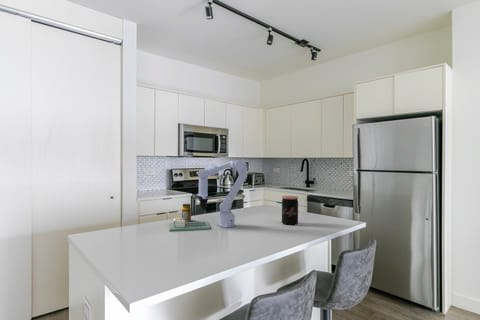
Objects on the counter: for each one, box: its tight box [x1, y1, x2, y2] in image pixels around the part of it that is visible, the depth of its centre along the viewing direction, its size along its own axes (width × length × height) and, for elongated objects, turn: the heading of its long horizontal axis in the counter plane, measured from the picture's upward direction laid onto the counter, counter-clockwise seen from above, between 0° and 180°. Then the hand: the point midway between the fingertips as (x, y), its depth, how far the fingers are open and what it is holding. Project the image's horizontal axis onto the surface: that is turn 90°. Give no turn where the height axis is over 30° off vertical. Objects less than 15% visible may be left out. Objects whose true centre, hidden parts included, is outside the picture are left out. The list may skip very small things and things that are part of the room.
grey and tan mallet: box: [183, 212, 188, 226], centre depth 174 cm, size 3×4×8 cm
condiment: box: [181, 203, 195, 222], centre depth 190 cm, size 7×8×12 cm
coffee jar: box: [281, 195, 299, 226], centre depth 186 cm, size 11×11×18 cm
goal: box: [173, 217, 185, 228], centre depth 173 cm, size 6×8×4 cm
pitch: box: [168, 221, 211, 232], centre depth 174 cm, size 24×16×2 cm, turn 104°
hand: (202, 208), depth 182 cm, fingers open, 7 cm apart
